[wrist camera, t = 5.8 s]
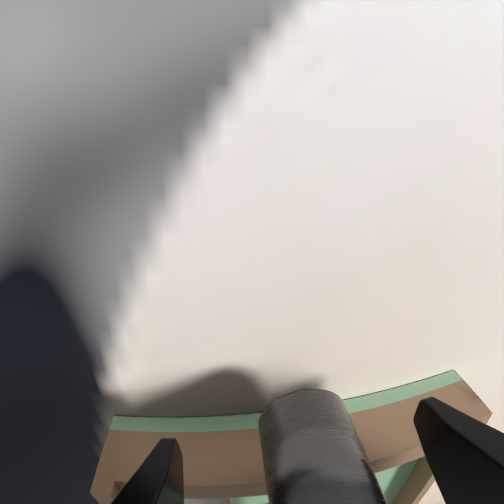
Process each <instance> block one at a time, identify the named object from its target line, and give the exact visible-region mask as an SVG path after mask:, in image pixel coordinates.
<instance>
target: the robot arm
mask: <svg viewBox="0 0 504 504" xmlns="http://www.w3.org/2000/svg"><path fill="white" fill-rule="evenodd" d="M413 421H414V425H415V428H416V431H417V434H418V437H419V440H420V443H421V446H422V449H423V452H424V455H425V458H426V460H427V463H428V465H429V467H430V469H431V471H432V474H433V476H434V478H435V480H436V482H437V485H438V487H439V489H440V491H441V494H442V496H443V498H444V501H445V503H446V504H504V433H502V432H500V431H498V430H496V429H494V428H492V427H490V426H488V425H486V424H484V423H483V422H481V421H479V420H477V419H475V418H473V417H471V416H469V415H467V414H465V413H463V412H461V411H459V410H457V409H456V408H454V407H452V406H450V405H448V404H446V403H444V402H442V401H441V400H439V399H437V398H435V397H432V396H430V397H427V398H424V399H421V400H420V401H419V403H418V406H417V409H416V412H415V414H414V418H413ZM111 504H184V478H183V455H182V452H181V449H180V447H179V444H178V441H177V439H176V438H173V437H163V438H161V439H160V440H159V441H158V443H157V444H156V445H155V447H154V448H153V449H152V451H151V452H150V453H149V455H148V456H147V457H146V459H145V460H144V461H143V463H142V464H141V465H140V467H139V468H138V469H137V470H136V472H135V473H134V474H133V476H132V477H131V478H130V480H129V481H128V482H127V484H126V485H125V486H124V487H123V489H122V490H121V491H120V493H119V494H118V495H117V496H116V498H115V499H114V500H113V501H112V503H111Z"/></svg>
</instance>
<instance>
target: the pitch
mask: <svg viewBox="0 0 504 504" xmlns="http://www.w3.org/2000/svg"><path fill="white" fill-rule="evenodd" d="M430 396H432V397H435V398H437V399H439V400H441V401H442V402H444V403H446V404H448V405H450V406H452V407H454V408H456V409H457V410H459V411H461V412H463V413H465V414H467V415H469V416H471V417H473V418H475V419H477V420H479V421H481V422H483V423H484V424H487V422H488V420H489V418H490V416H491V415H492V412H491V411H490V410H489V409H488V407H487V406H486V405H485V404H484V403H483V401H482V400H481V399H480V398H479V397H478V396H477V395H476V393H475V392H474V391H473V390H472V389H471V388H470V387H469V385H468V384H467V383H466V382H465V381H464V380H463V379H462V378H461V376H460V375H459V374H458V373H457V372H456V371H455V370H452V371H449V372H446V373H443V374H440V375H437V376H434V377H431V378H428V379H424V380H421V381H418V382H415V383H411V384H408V385H404V386H400V387H397V388H393V389H389V390H385V391H381V392H377V393H373V394H369V395H365V396H360V397H356V398H351V399H346V400H342V401H343V402H344V405H345V407H346V409H347V411H348V414H349V416H350V418H351V420H352V423H353V425H354V427H355V429H356V432H357V434H358V436H359V438H360V441H361V443H362V445H363V448H364V450H365V452H366V454H367V457H368V459H369V461H370V464H371V466H372V468H373V471H374V473H375V475H376V478H377V480H378V482H379V485H380V487H381V489H382V492H383V494H384V496H385V499H386V501H387V504H418V503H419V501H420V500H421V499H422V497H423V496H424V495H425V493H426V492H427V491H428V489H429V488H430V487H431V485H432V484H433V482H434V481H435V478H434V476H433V474H432V471H431V469H430V467H429V465H428V463H427V460H426V458H425V455H424V452H423V449H422V446H421V443H420V440H419V437H418V434H417V431H416V428H415V425H414V421H413V418H414V414H415V412H416V409H417V406H418V403H419V401H420V400H421V399H424V398H427V397H430ZM261 414H262V413H253V414H242V415H229V416H212V417H180V418H159V417H127V416H113V419H112V422H111V425H110V428H109V431H108V434H107V437H106V440H105V443H104V446H103V450H102V453H101V456H100V459H99V463H98V466H97V469H96V473H95V476H94V480H93V483H92V487H91V490H90V493H91V495H92V496H93V497H94V498H95V499H96V500H97V501H98V502H99V503H100V504H111V503H112V501H113V500H114V499H115V498H116V496H117V495H118V494H119V493H120V491H121V490H122V489H123V487H124V486H125V485H126V484H127V482H128V481H129V480H130V478H131V477H132V476H133V474H134V473H135V472H136V470H137V469H138V468H139V467H140V465H141V464H142V463H143V461H144V460H145V459H146V457H147V456H148V455H149V453H150V452H151V451H152V449H153V448H154V447H155V445H156V444H157V443H158V441H159V440H160V439H161V438H163V437H173V438H176V439H177V441H178V444H179V447H180V449H181V452H182V455H183V478H184V504H269V500H268V493H267V486H266V479H265V472H264V465H263V458H262V451H261V444H260V436H259V429H258V421H259V418H260V416H261Z"/></svg>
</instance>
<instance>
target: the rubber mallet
mask: <svg viewBox="0 0 504 504" xmlns="http://www.w3.org/2000/svg"><path fill="white" fill-rule="evenodd" d="M258 429H259V436H260V444H261V451H262V458H263V465H264V472H265V479H266V486H267V493H268V500H269V504H387V501H386V499H385V496H384V494H383V492H382V489H381V487H380V485H379V482H378V480H377V478H376V475H375V473H374V471H373V468H372V466H371V464H370V461H369V459H368V457H367V454H366V452H365V450H364V448H363V445H362V443H361V441H360V438H359V436H358V434H357V432H356V429H355V427H354V425H353V423H352V420H351V418H350V416H349V414H348V411H347V409H346V407H345V405H344V402H343V401H342V399H341V398H340V397H339V396H338V395H336V394H335V393H333V392H330V391H327V390H322V389H307V390H300V391H296V392H293V393H290V394H287V395H285V396H282V397H280V398H279V399H277V400H275V401H274V402H272V403H271V404H270V405H269V406H268V407H266V409H265V410H264V411H263V412H262V414H261V416H260V418H259V421H258Z"/></svg>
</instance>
